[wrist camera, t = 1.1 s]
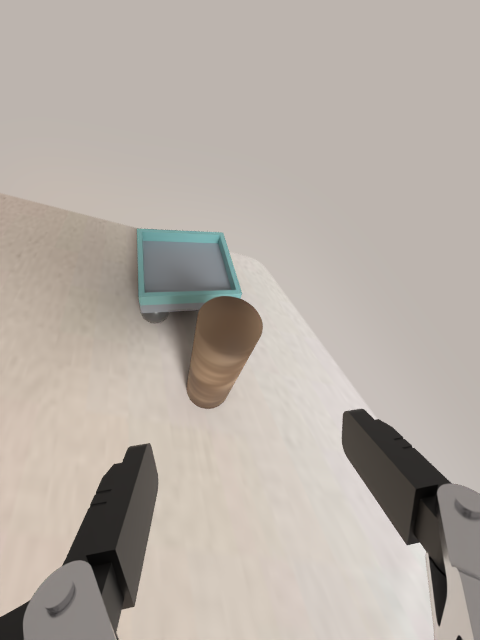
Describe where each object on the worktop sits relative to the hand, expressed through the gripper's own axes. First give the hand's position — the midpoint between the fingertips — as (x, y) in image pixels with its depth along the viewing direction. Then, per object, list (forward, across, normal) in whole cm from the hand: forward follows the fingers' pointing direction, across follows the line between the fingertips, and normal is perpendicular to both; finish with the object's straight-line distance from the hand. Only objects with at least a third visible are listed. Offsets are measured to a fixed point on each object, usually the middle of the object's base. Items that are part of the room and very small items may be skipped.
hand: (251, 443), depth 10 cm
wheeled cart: (+29, +5, -2) cm, 30 cm away
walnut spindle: (+18, +3, +8) cm, 20 cm away
